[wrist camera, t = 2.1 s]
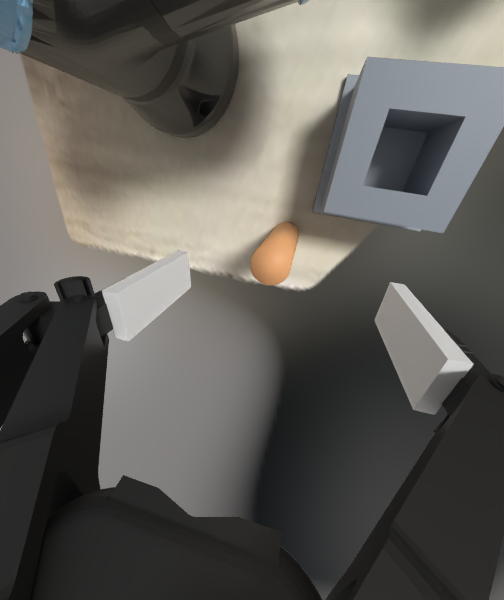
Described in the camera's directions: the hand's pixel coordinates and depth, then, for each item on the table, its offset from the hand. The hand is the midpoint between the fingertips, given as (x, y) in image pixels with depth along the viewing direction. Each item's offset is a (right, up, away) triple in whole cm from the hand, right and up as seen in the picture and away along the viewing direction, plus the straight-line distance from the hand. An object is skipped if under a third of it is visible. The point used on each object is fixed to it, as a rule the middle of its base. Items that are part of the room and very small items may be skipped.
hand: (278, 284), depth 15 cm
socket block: (+14, +16, +12) cm, 24 cm away
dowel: (+3, +9, +19) cm, 21 cm away
